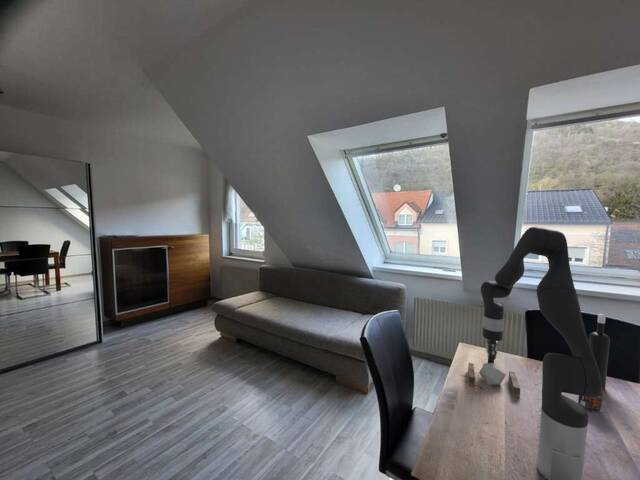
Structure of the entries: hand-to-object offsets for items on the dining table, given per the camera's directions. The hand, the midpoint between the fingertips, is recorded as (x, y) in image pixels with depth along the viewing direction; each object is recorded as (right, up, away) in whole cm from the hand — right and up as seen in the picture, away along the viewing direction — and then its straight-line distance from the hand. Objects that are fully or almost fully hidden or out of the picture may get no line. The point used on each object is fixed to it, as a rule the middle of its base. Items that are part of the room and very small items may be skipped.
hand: (490, 365), depth 123 cm
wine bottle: (+37, -5, -9) cm, 38 cm away
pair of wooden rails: (-4, -5, -7) cm, 9 cm away
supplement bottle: (+23, -6, -21) cm, 32 cm away
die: (-3, -5, -6) cm, 8 cm away
